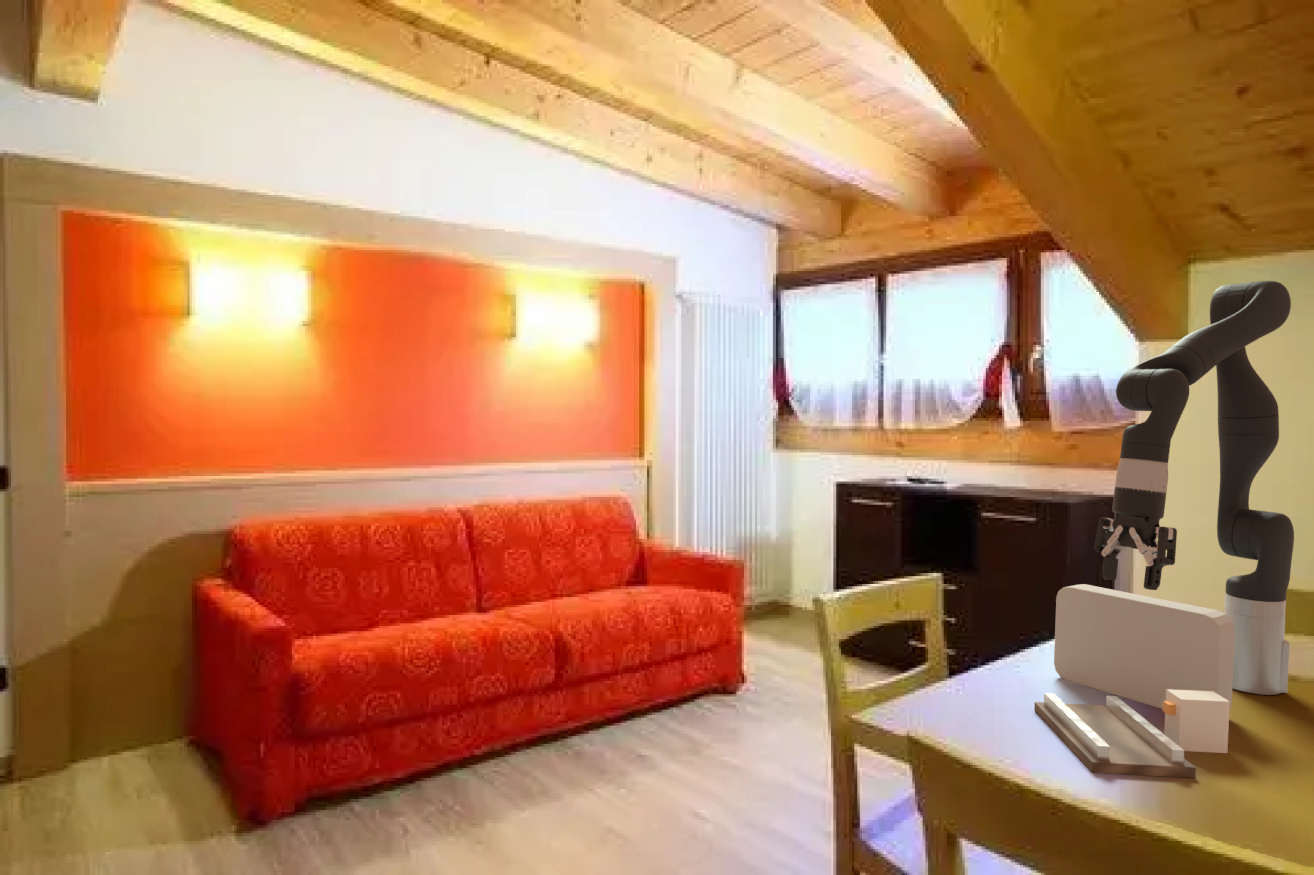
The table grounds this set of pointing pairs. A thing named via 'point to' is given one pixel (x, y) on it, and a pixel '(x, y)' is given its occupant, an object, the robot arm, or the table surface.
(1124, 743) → the mounting board
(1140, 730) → the mounting rail
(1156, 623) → the rounded white slab
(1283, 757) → the table surface
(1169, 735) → the block
